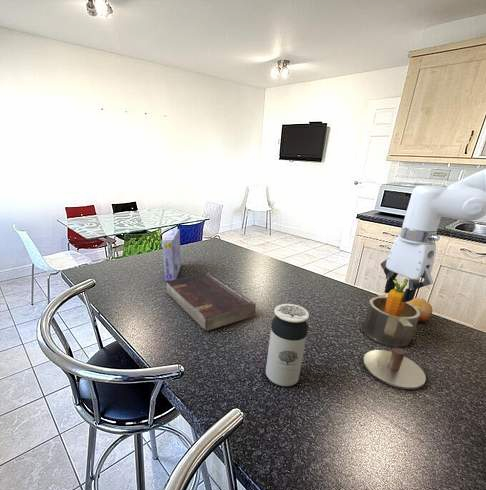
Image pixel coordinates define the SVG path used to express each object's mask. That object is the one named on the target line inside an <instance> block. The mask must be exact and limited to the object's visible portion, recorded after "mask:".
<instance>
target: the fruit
mask: <svg viewBox="0 0 486 490" xmlns="http://www.w3.org/2000/svg"><path fill="white" fill-rule="evenodd" d="M408 303H410V304H412V305H413V306H415V307H416V308H417V309H418V310H419V311H420V317H419V320H418V322H420V323H424V322H427V321H428V320H429V319H430V318H431V316H432V314H433V306H432V304H431V303H429V302H428V301H427V300H426V299H424V298H419V297H414V298H413V300H411V301H408Z"/></svg>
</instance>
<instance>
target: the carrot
mask: <svg viewBox="0 0 486 490" xmlns="http://www.w3.org/2000/svg"><path fill="white" fill-rule="evenodd" d="M393 282H394V283H395V285H396V286H395V289H392V290H390V291H389V293H387V296H386V297H387V301H386V306H385V312H386V313H388V314H391V315H395V316H400V314H401V312H402V310H403V308H404V306H405V303H406V302H403V301H402V299H403V296H404V293H405V289H406V286H408V283H409V279H408V278H404V280H403V282H402V284H400V283H399V281H398V280H397V281H395V280H393Z"/></svg>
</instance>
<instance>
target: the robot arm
mask: <svg viewBox="0 0 486 490" xmlns="http://www.w3.org/2000/svg"><path fill="white" fill-rule="evenodd" d="M485 216H486V168H485V169H483V170H480V171H478V172H475V173H473V174H471V175H469V176H466V177H465V178H462V179H460V180H458V181H456V182H454V183H452V184H450V185H448V186H447V187H446V186H441V185H433V184H432V185H431V184H422V185H417V186H415V187H414V188H413V190H412V192H411V195H410V198H409V202H408V205H407V208H406V211H405V215H404V219H403V222H402V226H401V229H400V233H399V235H397V236H396V238H395V239H394V241H393V243H392V245H391V247H390V250H389V253H388V256H387V258H386V259H385V260H383V261H382V262H380V267H381V268H382V270H383V272H384V275H385V279H386V283H385V286H384V293H385V294H389V291H390V290H392V289H396V285H395V283H394V282H393V280H395V281H397V282H398V279H397V277H398V275H400V276H402V277H405V278H406V279H408V287H407V288H405V289H404V292H405V293H404V296H403V299H402V301H403V302H408V301H411V300H413V298H415V295H416V292H417V290H419V289H421V288H424V287H427V286H430V285H433V284H434V280H433V277H432V275H431V273H432V270H433V267H434V262H435V260H436V259H435V258H436V251H437V243H435V242H438V241H440V239H441V235H438V229H439V225H440V223H441V220H442V218H447V219H451V220H456V221H461V222H473V221H477V220H480V219H482V218H484V217H485ZM421 279H423V281H421Z"/></svg>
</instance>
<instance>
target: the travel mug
mask: <svg viewBox="0 0 486 490" xmlns="http://www.w3.org/2000/svg"><path fill="white" fill-rule="evenodd" d="M273 311H274V315H275V316H274V318H272V320H271V325H270V334H269V343H268V350H267V357H266V366H265V375H266V377H267V379H268V380H269V381H270V382H272V383H274V384H275V385H278V386H281V387H291V386H294V385H295V384H297V383H298V382H299V380H300V375H301V369H302V364H303V358H304V355H305V354H304V353H305V347H306V342H307V338H308V332H309V325H308V323H307V321H308V320H309V318H310V313H309V311H308V310H307V309H306V308H304V307H302V306H300V305H298V304H295V303H294V304H293V303H281V304H278V305H276V307H275V308H274V310H273Z"/></svg>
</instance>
